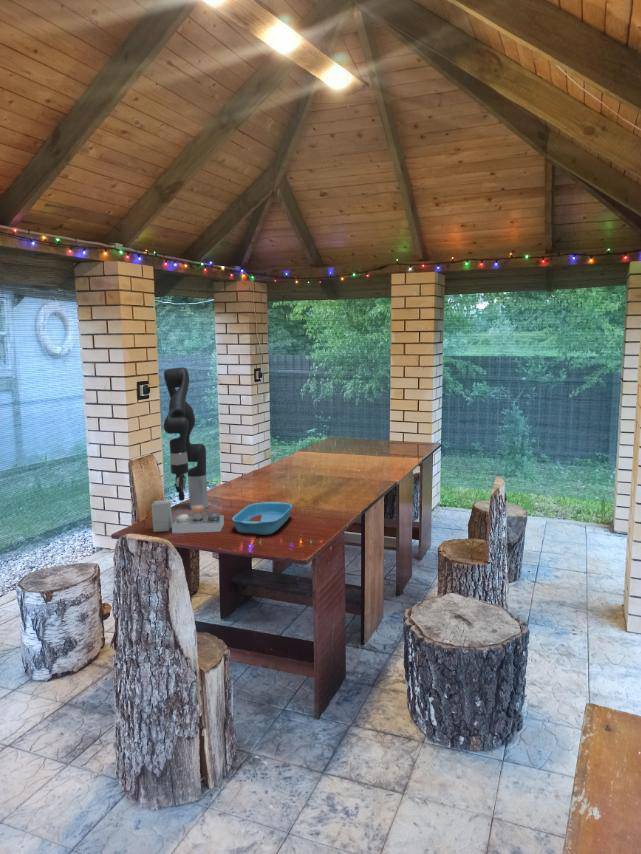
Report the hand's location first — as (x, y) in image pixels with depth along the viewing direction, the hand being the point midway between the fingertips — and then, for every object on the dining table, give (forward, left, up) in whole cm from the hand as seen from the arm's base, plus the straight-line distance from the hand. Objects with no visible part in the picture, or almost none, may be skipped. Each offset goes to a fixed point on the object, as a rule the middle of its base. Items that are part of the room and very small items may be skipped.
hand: (181, 500), depth 262 cm
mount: (0, +7, -14) cm, 16 cm away
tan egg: (0, +7, -9) cm, 11 cm away
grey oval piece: (0, 0, -13) cm, 13 cm away
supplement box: (-4, -10, -15) cm, 18 cm away
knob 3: (0, +14, -13) cm, 19 cm away
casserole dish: (-4, +36, -15) cm, 39 cm away
